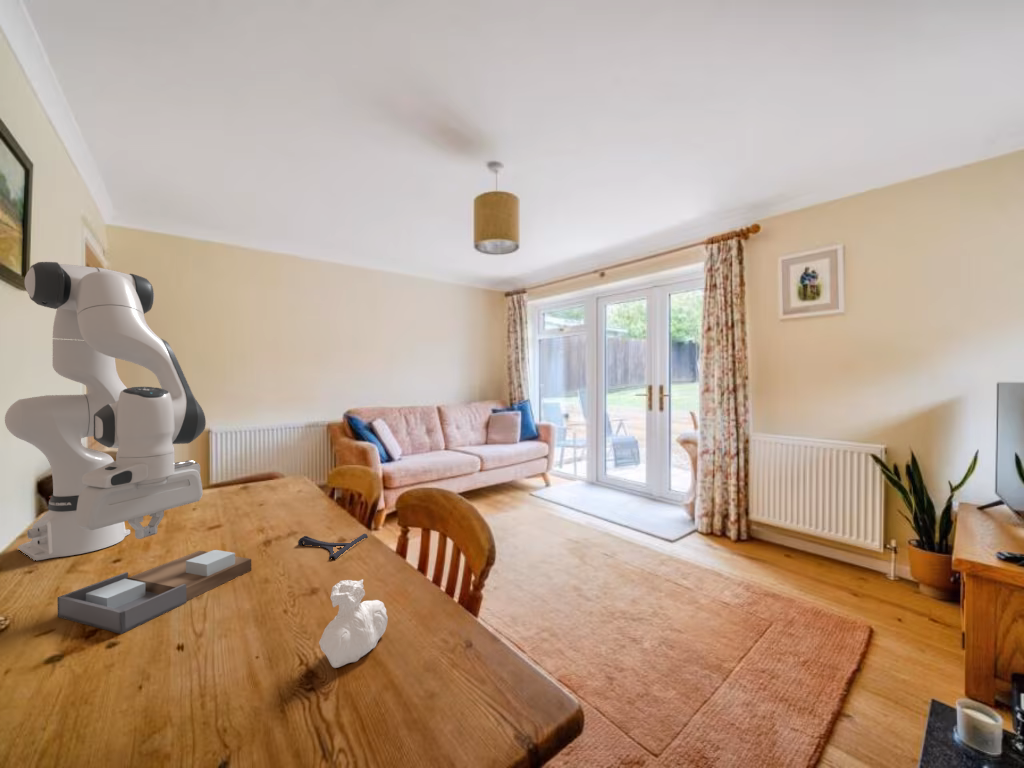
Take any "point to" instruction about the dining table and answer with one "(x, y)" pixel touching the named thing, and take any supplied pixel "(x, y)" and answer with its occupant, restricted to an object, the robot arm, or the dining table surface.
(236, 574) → the board
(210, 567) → the tile
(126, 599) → the tile
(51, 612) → the dining table surface
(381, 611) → the bust
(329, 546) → the bracket
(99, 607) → the tray
